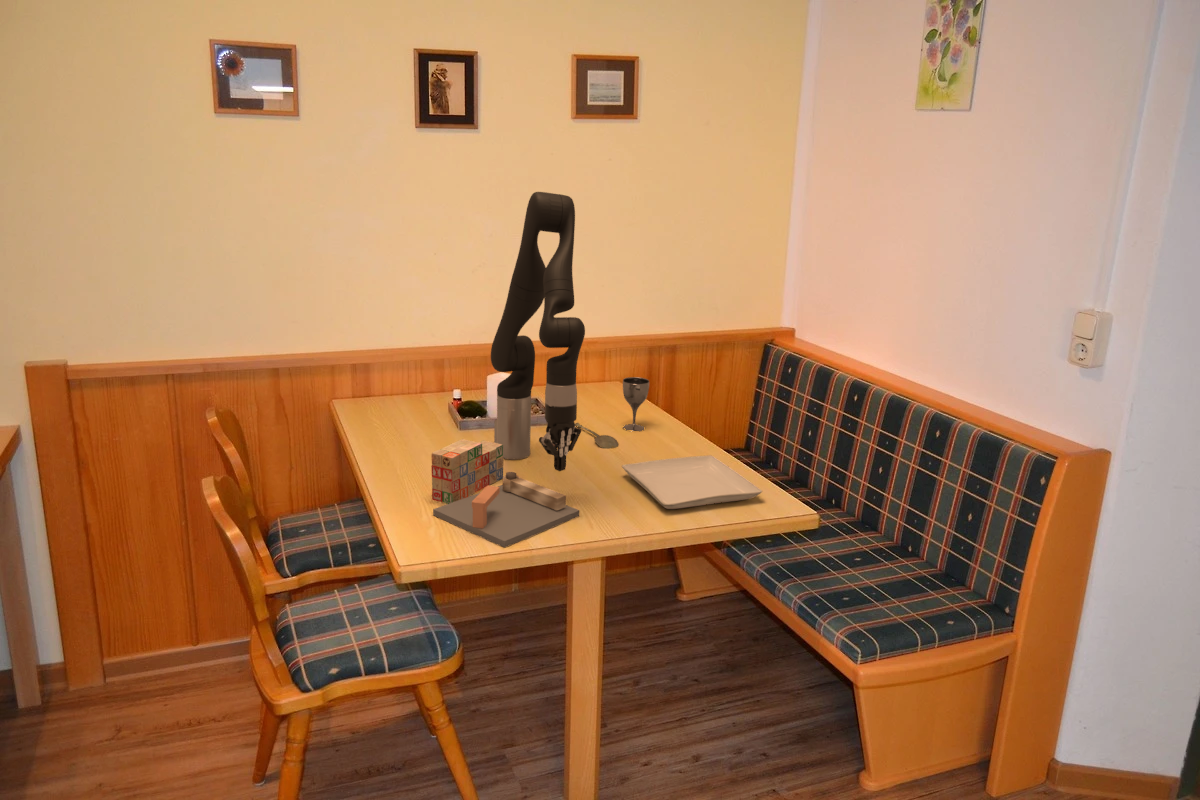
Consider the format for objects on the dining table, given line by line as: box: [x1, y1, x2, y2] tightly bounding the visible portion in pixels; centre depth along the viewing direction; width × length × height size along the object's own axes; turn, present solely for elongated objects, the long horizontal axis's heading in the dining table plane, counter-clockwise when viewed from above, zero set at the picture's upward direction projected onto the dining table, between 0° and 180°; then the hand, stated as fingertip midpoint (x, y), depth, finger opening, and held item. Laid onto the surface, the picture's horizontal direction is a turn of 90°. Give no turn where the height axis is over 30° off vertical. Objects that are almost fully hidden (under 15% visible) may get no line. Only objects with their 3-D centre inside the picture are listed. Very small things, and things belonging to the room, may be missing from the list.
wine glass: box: [622, 376, 650, 432], centre depth 280 cm, size 8×8×15 cm
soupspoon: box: [574, 422, 620, 450], centre depth 272 cm, size 22×3×7 cm
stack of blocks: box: [431, 438, 504, 505], centre depth 229 cm, size 21×6×12 cm, turn 151°
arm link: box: [502, 471, 567, 510], centre depth 221 cm, size 19×4×4 cm, turn 49°
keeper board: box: [432, 484, 580, 548], centre depth 215 cm, size 24×24×8 cm
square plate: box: [621, 455, 763, 510], centre depth 236 cm, size 27×27×4 cm
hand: (559, 469), depth 223 cm, fingers closed
